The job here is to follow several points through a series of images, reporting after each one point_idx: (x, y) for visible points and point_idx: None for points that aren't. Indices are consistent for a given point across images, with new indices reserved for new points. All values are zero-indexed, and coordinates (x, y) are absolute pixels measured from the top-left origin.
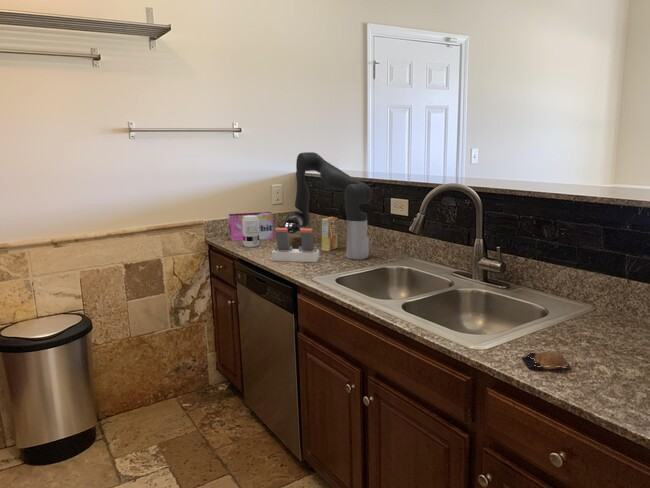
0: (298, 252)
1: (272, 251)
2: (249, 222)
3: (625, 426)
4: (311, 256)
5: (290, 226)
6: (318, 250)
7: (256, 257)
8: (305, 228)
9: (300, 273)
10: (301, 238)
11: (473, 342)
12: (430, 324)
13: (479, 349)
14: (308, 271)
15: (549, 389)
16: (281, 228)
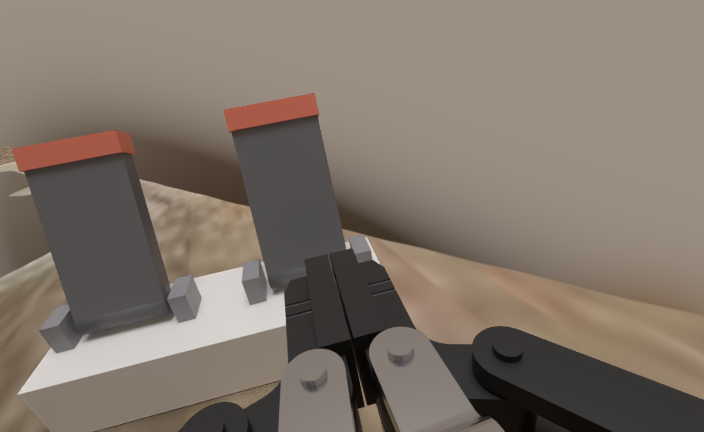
0: (202, 279)
1: (368, 242)
2: None
3: (5, 146)
4: None
5: (299, 411)
6: (35, 370)
7: (510, 294)
8: (74, 137)
9: (202, 221)
10: (143, 207)
11: (7, 166)
12: (23, 172)
13: (14, 161)
14: (173, 240)
15: None
16: (270, 103)
